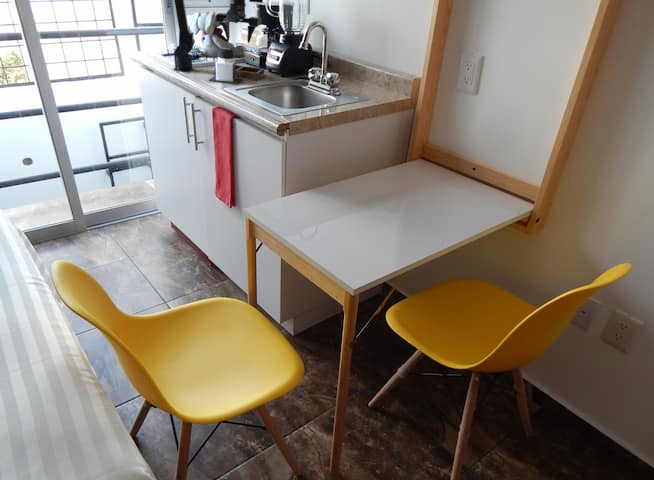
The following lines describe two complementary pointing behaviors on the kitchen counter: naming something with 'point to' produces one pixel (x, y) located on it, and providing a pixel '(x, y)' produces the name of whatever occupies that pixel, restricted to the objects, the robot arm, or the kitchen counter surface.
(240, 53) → the plush elephant
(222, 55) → the medicine bottle
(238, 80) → the mat
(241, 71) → the holder
